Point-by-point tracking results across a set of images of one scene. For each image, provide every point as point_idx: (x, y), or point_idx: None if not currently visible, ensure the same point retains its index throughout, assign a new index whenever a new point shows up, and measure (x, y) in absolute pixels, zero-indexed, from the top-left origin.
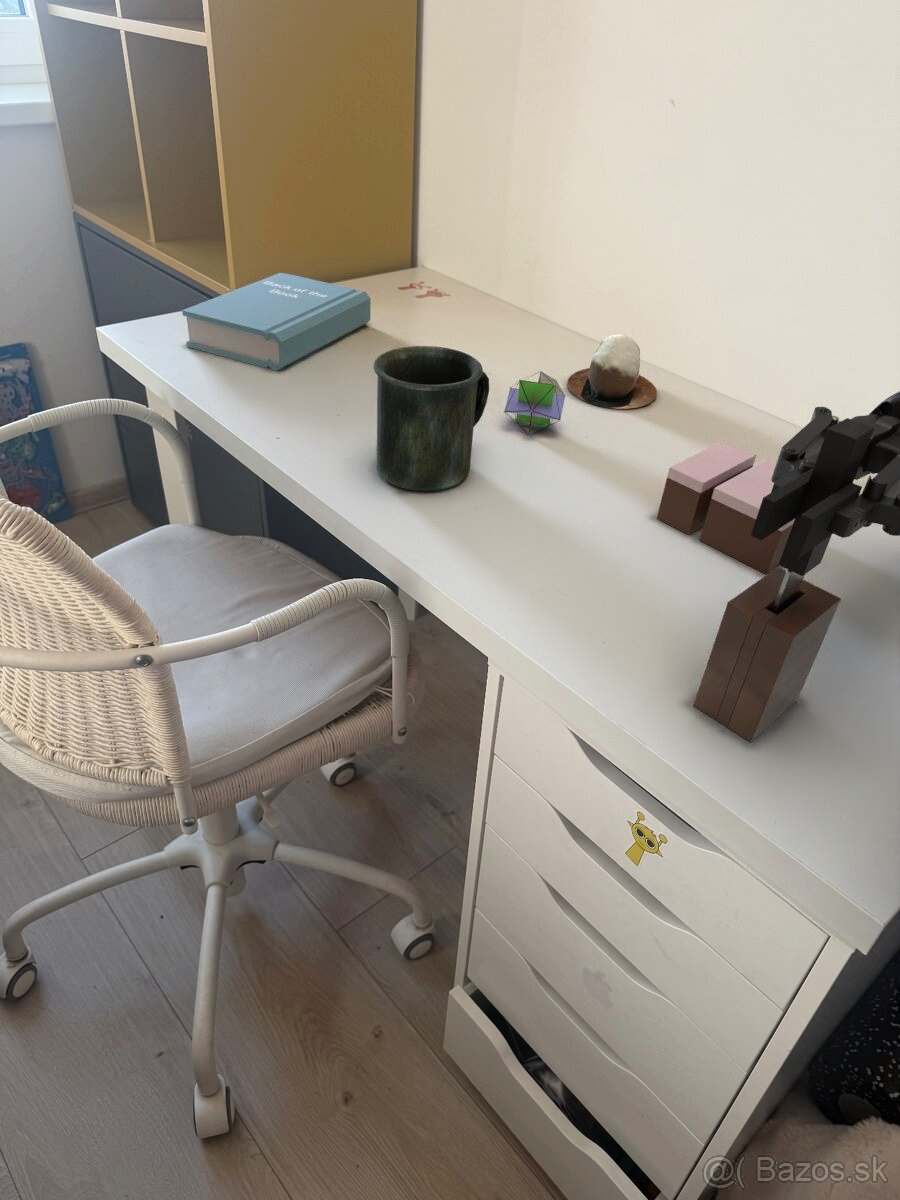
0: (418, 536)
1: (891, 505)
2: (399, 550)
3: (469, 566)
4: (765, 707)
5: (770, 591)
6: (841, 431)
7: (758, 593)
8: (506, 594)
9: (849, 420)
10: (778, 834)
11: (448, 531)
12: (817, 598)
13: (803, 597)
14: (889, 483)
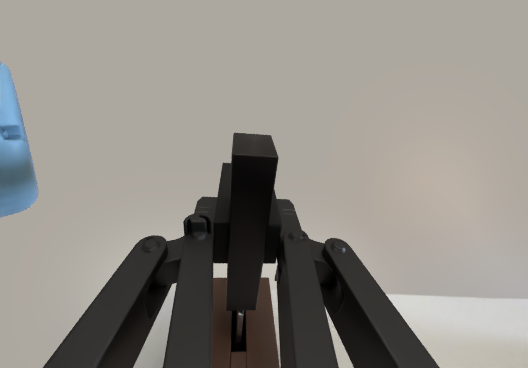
0: (501, 324)
1: (169, 243)
2: (475, 301)
3: (456, 328)
4: None
5: (256, 321)
6: (255, 135)
7: (261, 308)
8: (415, 326)
9: (269, 152)
10: (169, 291)
11: (517, 350)
12: (216, 352)
13: (228, 340)
14: (185, 264)
